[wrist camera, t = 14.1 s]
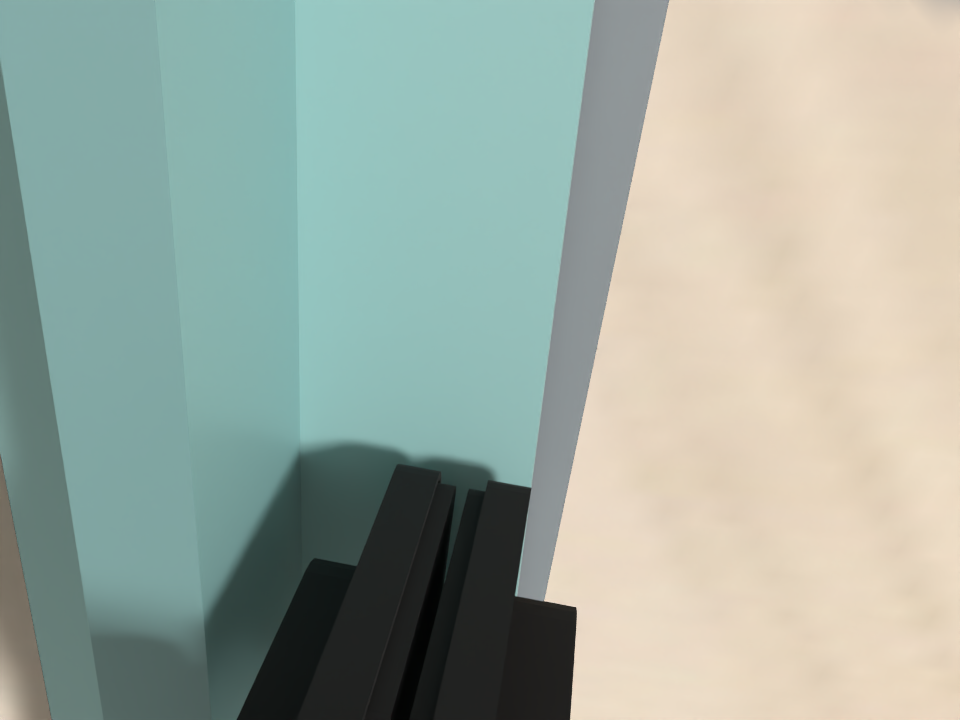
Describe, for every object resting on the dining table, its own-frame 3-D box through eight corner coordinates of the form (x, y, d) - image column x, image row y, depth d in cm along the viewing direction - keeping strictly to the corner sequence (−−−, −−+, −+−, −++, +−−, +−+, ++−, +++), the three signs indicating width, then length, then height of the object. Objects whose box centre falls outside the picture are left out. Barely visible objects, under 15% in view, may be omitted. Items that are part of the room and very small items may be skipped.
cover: (-143, -580, 8) (-673, -904, 5) (665, -539, 7) (697, -873, 4) (119, 941, 18) (11, 1168, 15) (463, 1009, 18) (427, 1260, 15)
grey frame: (135, -466, 11) (-39, -591, 8) (732, -392, 10) (774, -498, 7) (184, 776, 21) (115, 914, 18) (485, 839, 21) (463, 991, 18)
